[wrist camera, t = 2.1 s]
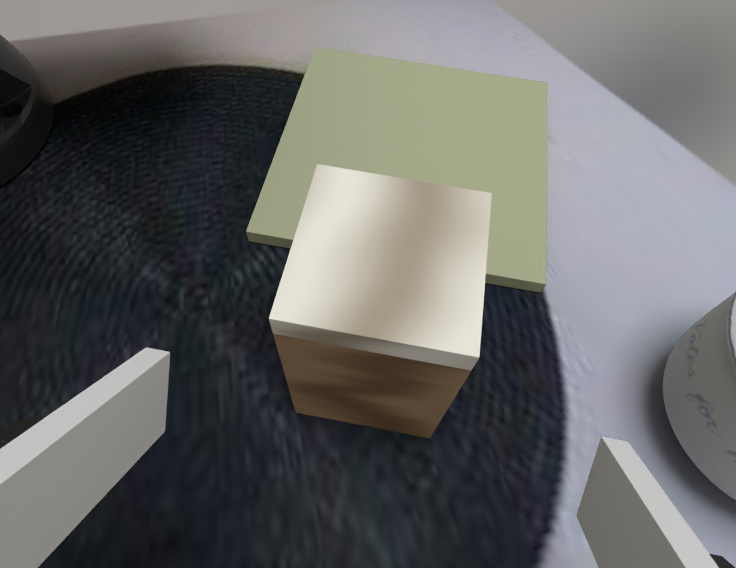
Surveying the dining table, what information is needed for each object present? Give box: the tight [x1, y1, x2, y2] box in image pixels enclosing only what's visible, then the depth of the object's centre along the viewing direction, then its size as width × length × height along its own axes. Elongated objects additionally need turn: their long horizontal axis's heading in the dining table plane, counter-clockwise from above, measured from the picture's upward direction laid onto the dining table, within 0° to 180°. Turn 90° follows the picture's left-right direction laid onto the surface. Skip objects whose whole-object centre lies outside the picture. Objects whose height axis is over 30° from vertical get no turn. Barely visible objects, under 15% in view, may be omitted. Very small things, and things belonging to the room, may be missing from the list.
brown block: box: [269, 164, 492, 438], centre depth 23 cm, size 7×7×11 cm
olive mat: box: [246, 47, 547, 293], centre depth 35 cm, size 18×18×1 cm
